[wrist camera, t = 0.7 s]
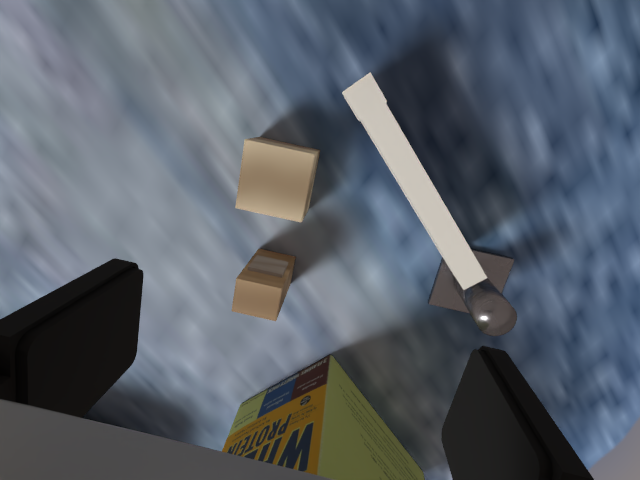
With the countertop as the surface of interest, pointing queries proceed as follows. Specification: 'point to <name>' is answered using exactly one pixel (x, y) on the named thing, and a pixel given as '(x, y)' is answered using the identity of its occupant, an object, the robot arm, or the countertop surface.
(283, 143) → the tan cube
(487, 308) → the knob on square plate
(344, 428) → the protein box
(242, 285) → the stile
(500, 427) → the robot arm
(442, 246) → the white long bar
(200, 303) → the countertop surface
